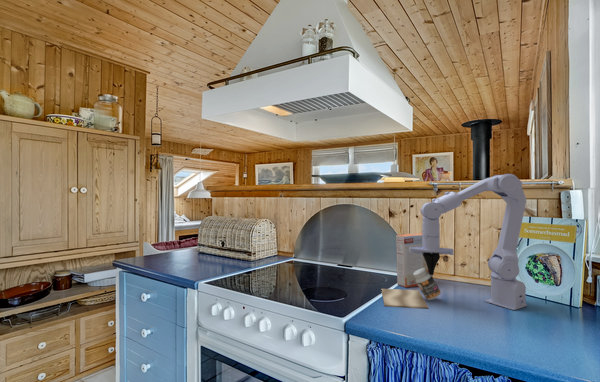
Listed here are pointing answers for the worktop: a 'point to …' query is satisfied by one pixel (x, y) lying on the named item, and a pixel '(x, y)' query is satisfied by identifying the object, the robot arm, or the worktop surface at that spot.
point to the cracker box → (409, 259)
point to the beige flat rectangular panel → (403, 298)
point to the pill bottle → (426, 284)
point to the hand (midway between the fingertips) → (431, 274)
